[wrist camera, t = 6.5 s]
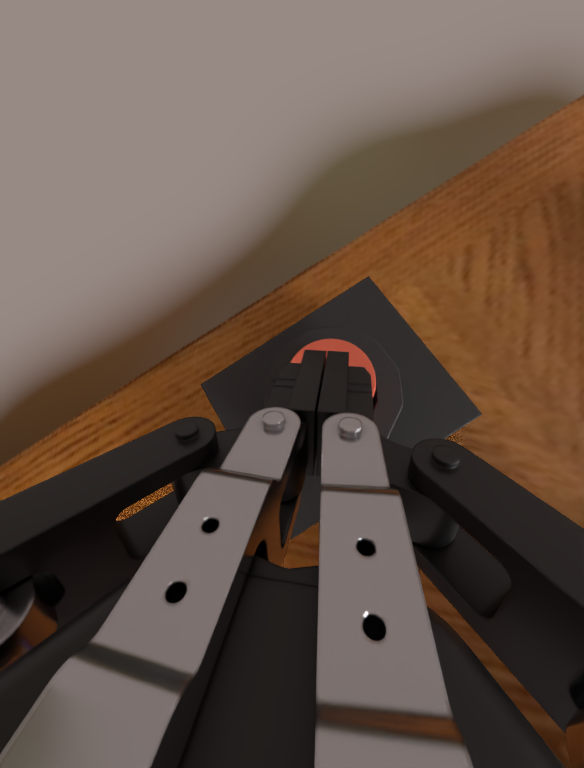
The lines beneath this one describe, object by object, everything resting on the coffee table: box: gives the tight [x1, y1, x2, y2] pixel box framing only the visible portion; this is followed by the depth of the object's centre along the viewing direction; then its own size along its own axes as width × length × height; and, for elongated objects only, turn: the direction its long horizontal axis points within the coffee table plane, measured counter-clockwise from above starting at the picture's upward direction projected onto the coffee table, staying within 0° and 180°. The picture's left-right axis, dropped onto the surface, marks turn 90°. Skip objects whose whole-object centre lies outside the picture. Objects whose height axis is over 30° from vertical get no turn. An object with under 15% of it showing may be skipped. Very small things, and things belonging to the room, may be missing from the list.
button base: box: [201, 276, 482, 540], centre depth 20 cm, size 12×10×8 cm
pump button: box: [290, 339, 376, 396], centre depth 16 cm, size 4×4×3 cm
